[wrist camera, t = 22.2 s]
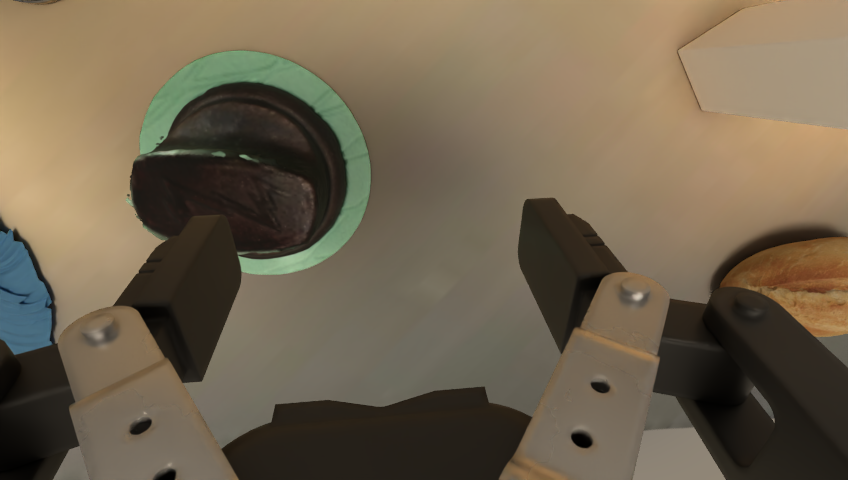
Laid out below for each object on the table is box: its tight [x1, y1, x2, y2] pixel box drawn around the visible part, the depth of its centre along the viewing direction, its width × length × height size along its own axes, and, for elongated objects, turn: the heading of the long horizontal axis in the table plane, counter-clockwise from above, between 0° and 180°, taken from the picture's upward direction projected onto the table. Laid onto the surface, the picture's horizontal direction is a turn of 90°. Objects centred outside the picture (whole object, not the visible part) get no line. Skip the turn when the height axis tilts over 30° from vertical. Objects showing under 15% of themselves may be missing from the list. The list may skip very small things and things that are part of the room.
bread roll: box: [720, 237, 848, 337], centre depth 42 cm, size 10×15×8 cm, turn 99°
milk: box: [678, 0, 848, 129], centre depth 28 cm, size 6×6×22 cm
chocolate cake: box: [126, 51, 371, 275], centre depth 37 cm, size 15×19×20 cm
